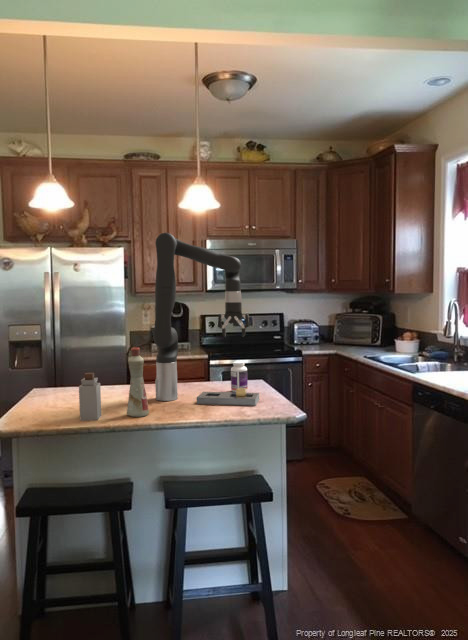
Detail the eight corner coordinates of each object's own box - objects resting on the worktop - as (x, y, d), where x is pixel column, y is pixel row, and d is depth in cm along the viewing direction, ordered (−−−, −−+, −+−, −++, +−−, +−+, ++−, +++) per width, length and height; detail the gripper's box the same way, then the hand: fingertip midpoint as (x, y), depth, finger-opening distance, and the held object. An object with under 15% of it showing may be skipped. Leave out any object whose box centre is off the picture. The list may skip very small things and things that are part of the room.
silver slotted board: (196, 404, 224) (196, 397, 224) (203, 398, 236) (203, 391, 236) (255, 405, 219) (255, 398, 219) (259, 399, 231) (259, 392, 231)
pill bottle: (248, 389, 253) (247, 360, 252) (247, 393, 245) (246, 363, 244) (232, 389, 254) (231, 360, 252) (230, 393, 246) (229, 363, 245)
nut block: (236, 403, 225) (236, 389, 225) (237, 401, 229) (237, 387, 228) (245, 403, 224) (245, 389, 224) (246, 401, 228) (246, 388, 228)
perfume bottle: (101, 415, 207) (99, 371, 206) (97, 420, 200) (95, 374, 199) (84, 416, 207) (82, 372, 206) (80, 420, 200) (78, 375, 199)
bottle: (124, 413, 209) (122, 345, 207) (146, 411, 213) (144, 344, 211) (129, 418, 201) (126, 348, 200) (151, 416, 205) (149, 346, 203)
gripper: (216, 301, 232) (216, 337, 233) (247, 301, 229) (247, 337, 230) (219, 301, 239) (220, 335, 240) (249, 300, 237) (250, 335, 238)
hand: (233, 336), depth 235 cm, fingers open, 8 cm apart
